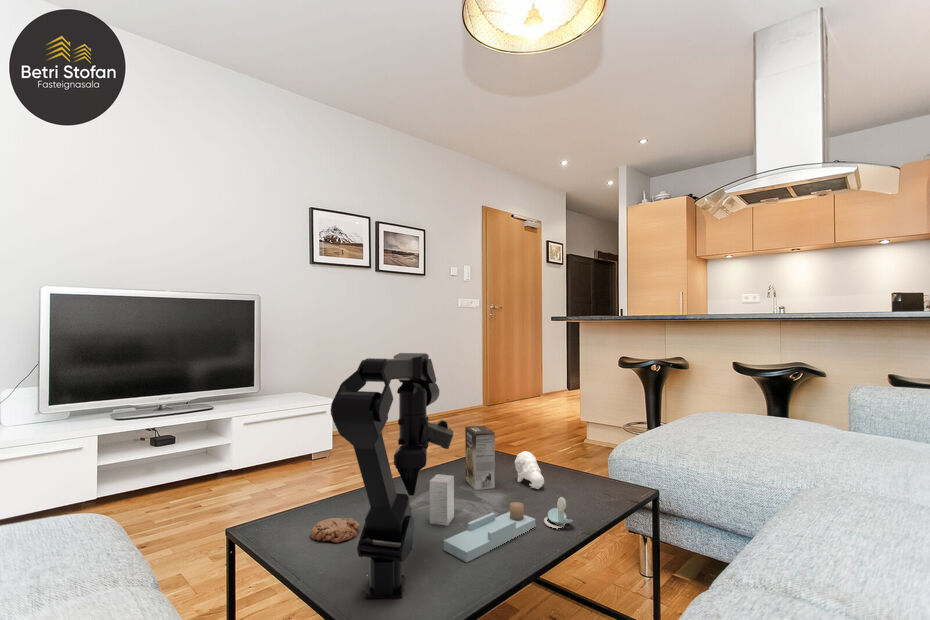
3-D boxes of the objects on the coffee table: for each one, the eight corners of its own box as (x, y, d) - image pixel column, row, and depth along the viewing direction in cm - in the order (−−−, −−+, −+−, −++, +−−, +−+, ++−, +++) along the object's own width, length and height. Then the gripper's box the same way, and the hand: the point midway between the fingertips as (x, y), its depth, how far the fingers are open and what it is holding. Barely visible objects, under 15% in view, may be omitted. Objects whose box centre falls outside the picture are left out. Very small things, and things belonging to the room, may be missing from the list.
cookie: (309, 529, 108) (309, 516, 108) (356, 522, 111) (356, 510, 111) (311, 549, 98) (311, 535, 98) (362, 541, 102) (362, 527, 102)
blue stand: (466, 562, 92) (466, 537, 92) (443, 549, 97) (443, 525, 97) (535, 527, 107) (535, 506, 107) (512, 518, 112) (512, 497, 112)
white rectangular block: (447, 525, 109) (447, 482, 109) (429, 523, 110) (429, 480, 110) (455, 515, 114) (455, 474, 115) (438, 513, 116) (438, 472, 116)
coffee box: (464, 480, 140) (464, 426, 140) (484, 478, 141) (484, 424, 142) (474, 490, 131) (474, 433, 131) (495, 488, 133) (495, 431, 133)
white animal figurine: (532, 448, 142) (551, 463, 131) (531, 475, 143) (550, 492, 132) (513, 450, 140) (530, 465, 129) (512, 477, 141) (529, 495, 130)
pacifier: (552, 533, 105) (576, 529, 107) (551, 505, 105) (575, 502, 107) (539, 520, 112) (561, 516, 114) (538, 494, 112) (560, 490, 114)
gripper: (451, 421, 89) (452, 503, 89) (450, 404, 108) (450, 471, 107) (393, 422, 89) (393, 505, 88) (402, 404, 107) (402, 472, 107)
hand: (413, 487), depth 98 cm, fingers open, 9 cm apart
